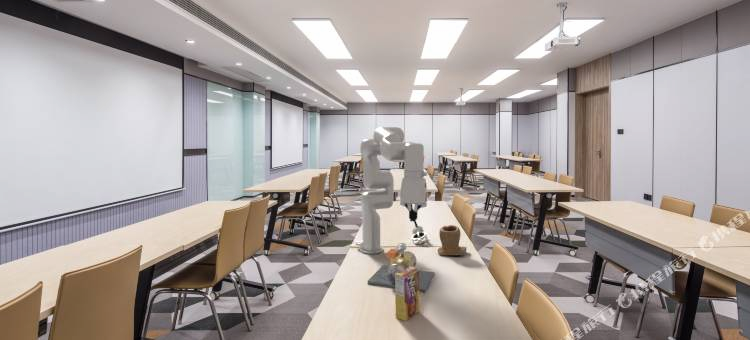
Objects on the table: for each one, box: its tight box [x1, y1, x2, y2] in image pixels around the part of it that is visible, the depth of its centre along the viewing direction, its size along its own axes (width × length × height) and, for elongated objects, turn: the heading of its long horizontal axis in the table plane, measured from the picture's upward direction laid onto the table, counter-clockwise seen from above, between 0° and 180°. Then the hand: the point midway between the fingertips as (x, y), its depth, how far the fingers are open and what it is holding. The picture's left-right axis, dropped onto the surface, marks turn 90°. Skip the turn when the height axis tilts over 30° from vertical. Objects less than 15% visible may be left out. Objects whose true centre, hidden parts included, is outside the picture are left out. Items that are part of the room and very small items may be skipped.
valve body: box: [367, 250, 436, 294], centre depth 148 cm, size 24×19×13 cm
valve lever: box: [386, 242, 407, 259], centre depth 143 cm, size 14×3×2 cm, turn 154°
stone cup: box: [436, 224, 467, 256], centre depth 179 cm, size 15×12×15 cm
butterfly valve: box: [411, 220, 428, 245], centre depth 202 cm, size 9×20×17 cm
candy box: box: [394, 266, 420, 322], centre depth 119 cm, size 9×4×15 cm, turn 140°
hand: (413, 220), depth 139 cm, fingers closed
